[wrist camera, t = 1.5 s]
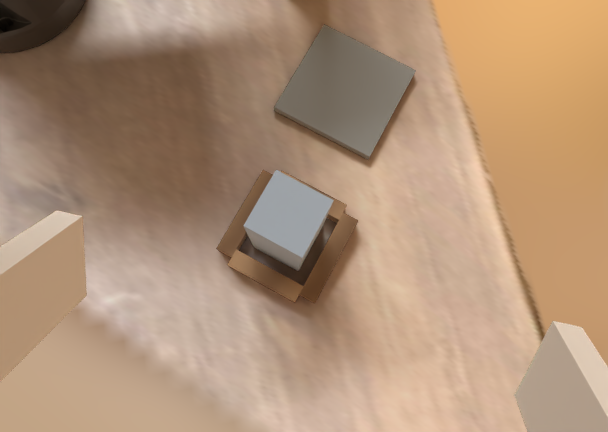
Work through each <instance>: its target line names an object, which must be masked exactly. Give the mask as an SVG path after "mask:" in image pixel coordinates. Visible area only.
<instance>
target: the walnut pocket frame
mask: <svg viewBox="0 0 608 432" xmlns="http://www.w3.org/2000/svg"><path fill="white" fill-rule="evenodd" d="M281 172H282V173H284V174H285V175H287V176H289V177H291V178H293V179H295V180H297V181H299V182H301V183H302V184H304V185H306V186H308V187H310V188H312V189H314V190H316V191H317V192H319V193H321V194H323V195H325V196H327V197H329V198H331V199H333V200H334V201H333V203H332V206H331V208H330V210H329V213H328V215H327V218H328V219H330V220H332V221H334V222H336V223H337V225H336V226H335V228H334V230H333V232H332V234H331V236H330V238H329V240H328V241H327V243H326V245H325V247H324V249H323V251H322V253H321V254H320V256H319V258H318V260H317V262H316V264H315V266H314V268H313V269H312V271H311V273H310V275H309V277H308V279H307V281H306V283H305V284H304V286H302V285H300V284H299V283H297V282H295V281H293V280H291V279H289V278H288V277H286V276H284V275H282V274H280V273H279V272H277V271H275V270H273V269H271V268H269V267H268V266H266V265H264V264H262V263H260V262H258V261H257V260H255V259H253V258H251V257H249V256H248V255H246V254H244V253H242V252H240V251H239V249H240V248H241V246H242V244H243V242H244V241H245V239H246V237H247V235H248V234H247V232H246V230H245V228H244V224H245V222H246V220H247V219H248V217H249V215H250V214H251V212H252V210H253V208H254V207H255V205H256V203H257V202H258V200H259V198H260V196H261V195H262V193H263V191H264V190H265V188H266V186H267V184H268V183H269V181H270V179H271V178H272V176H273V175H272V174H270V173H268V172H266V171H264V170H263V171H262V172H261V174H260V176H259V177H258V179H257V181H256V182H255V184H254V186H253V188H252V189H251V191H250V193H249V194H248V196H247V198H246V199H245V201H244V203H243V204H242V206H241V208H240V210H239V211H238V213H237V215H236V216H235V218H234V220H233V221H232V223H231V225H230V226H229V228H228V230H227V232H226V233H225V235H224V237H223V238H222V240H221V242H220V243H219V245H218V247H217V248H216V249H217V250H218V251H220V252H222V253H223V254H225V255H227V256H229V257H231V259H230V261H229V263H228V264H227V265H228V266H229V267H231V268H233V269H235V270H236V271H238V272H240V273H242V274H244V275H245V276H247V277H249V278H251V279H253V280H254V281H256V282H258V283H260V284H262V285H264V286H265V287H267V288H269V289H271V290H273V291H274V292H276V293H278V294H280V295H282V296H283V297H285V298H287V299H289V300H291V301H293V302H294V303H295V301H296V300H297V298H298V296H299V295H300V296H302V297H303V298H305V299H307V300H309V301H311V302H313V303H315V302H316V300H317V298H318V297H319V295H320V293H321V291H322V289H323V287H324V285H325V283H326V281H327V279H328V277H329V276H330V274H331V272H332V270H333V268H334V266H335V264H336V262H337V260H338V258H339V257H340V255H341V253H342V251H343V249H344V247H345V245H346V243H347V241H348V239H349V237H350V236H351V234H352V232H353V230H354V228H355V226H356V224H357V222H358V220H356V219H355V218H353V217H351V216H349V215H347V214H345V213H343V212H344V210H345V208H346V206H347V205H346V204H344V203H342V202H340V201H338V200H336V199H335V198H333V197H331V196H329V195H327V194H325V193H323V192H321V191H319V190H318V189H316V188H314V187H312V186H310V185H308V184H306V183H304V182H303V181H301V180H299V179H297V178H295V177H293V176H291V175H289V174H287V173H286V172H284V171H281Z"/></svg>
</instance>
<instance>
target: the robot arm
mask: <svg viewBox="0 0 608 432" xmlns="http://www.w3.org/2000/svg"><path fill="white" fill-rule="evenodd" d="M84 2H85V0H0V53H6V52H16V51H22V50H26V49H29V48H33V47H35V46H38V45H40V44H43V43H45V42H47V41H49V40H50V39H52V38H54V37H55V36H57V35H58V34H59V33H61V32H62V31H63V30H64V29H65V28H66V27H68V26H69V25H70V23H71V22H72V21H73V20H74V19H75V18H76V16H77V15H78V13H79V12H80V10H81V8H82V6H83V4H84ZM86 296H87V293H86V274H85V254H84V234H83V216H80V215H76V214H71V213H67V212H62V211H58V210H56V211H55V212H53V213H52V214H50V215H49V216H47V217H46V218H44V219H42V220H41V221H39V222H38V223H36V224H35V225H33V226H31V227H30V228H28V229H27V230H25V231H24V232H22V233H21V234H19V235H17V236H16V237H14V238H13V239H11V240H10V241H8V242H6V243H5V244H3V245H2V246H0V382H1V381H2V380H3V379H4V378H5V377H6V376H7V375H8V374H9V373H10V372H11V371H12V370H13V369H14V368H15V367H16V366H17V365H18V364H19V363H20V362H21V361H22V360H23V359H24V358H25V357H26V356H27V354H29V353H30V352H31V351H32V350H33V349H34V348H35V347H36V346H37V345H38V344H39V343H40V342H41V341H42V340H43V339H44V338H45V337H46V336H47V334H49V333H50V332H51V331H52V330H53V329H54V328H55V327H56V326H57V325H58V324H59V323H60V322H61V321H62V320H63V319H64V317H66V316H67V315H68V314H69V313H70V312H71V311H72V310H73V309H74V308H75V307H76V306H77V305H78V304H79V303H80V302H81V301H82V300H83V299H84V298H85V297H86ZM514 396H515V398H516V401H517V404H518V407H519V409H520V412H521V415H522V418H523V421H524V423H525V426H526V429H527V432H608V367H607V365H606V364H605V362H604V361H603V359H602V358H601V356H600V354H599V353H598V351H597V350H596V348H595V347H594V345H593V344H592V342H591V341H590V339H589V338H588V336H587V334H586V333H585V331H584V330H583V328H582V327H578V326H574V325H569V324H565V323H560V322H556V321H552V323H551V325H550V327H549V329H548V331H547V333H546V335H545V337H544V339H543V340H542V342H541V344H540V346H539V348H538V350H537V352H536V354H535V356H534V358H533V360H532V362H531V364H530V365H529V367H528V369H527V371H526V373H525V375H524V377H523V379H522V381H521V383H520V385H519V387H518V389H517V391H516V392H515V394H514Z"/></svg>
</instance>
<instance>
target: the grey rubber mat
mask: <svg viewBox="0 0 608 432" xmlns="http://www.w3.org/2000/svg"><path fill="white" fill-rule="evenodd" d="M415 71H416V70H414V69H412V68H410V67H408V66H406V65H404V64H402V63H400V62H398V61H396V60H394V59H392V58H390V57H388V56H386V55H384V54H382V53H380V52H378V51H376V50H374V49H372V48H370V47H368V46H366V45H364V44H362V43H360V42H358V41H357V40H355V39H353V38H351V37H349V36H347V35H345V34H343V33H341V32H339V31H337V30H335V29H333V28H331V27H329V26H327V25H325V24H324V25H323V27H322V29H321V30H320V32H319V34H318V35H317V37H316V39H315V40H314V42H313V44H312V45H311V47H310V48H309V50H308V52H307V53H306V55H305V57H304V58H303V60H302V62H301V63H300V65H299V67H298V68H297V70H296V72H295V73H294V75H293V77H292V78H291V80H290V81H289V83H288V85H287V86H286V88H285V90H284V91H283V93H282V95H281V96H280V98H279V100H278V101H277V103H276V105H275V106H274V111H276V112H278V113H280V114H281V115H283V116H285V117H287V118H289V119H291V120H293V121H295V122H297V123H299V124H301V125H303V126H304V127H306V128H308V129H310V130H312V131H314V132H316V133H318V134H320V135H322V136H324V137H326V138H327V139H329V140H331V141H333V142H335V143H337V144H339V145H341V146H343V147H345V148H347V149H349V150H351V151H352V152H354V153H356V154H358V155H360V156H362V157H364V158H366V159H369V157H370V155H371V153H372V152H373V150H374V148H375V146H376V144H377V142H378V140H379V139H380V137H381V135H382V133H383V131H384V129H385V127H386V126H387V124H388V122H389V120H390V118H391V116H392V114H393V112H394V111H395V109H396V107H397V105H398V103H399V101H400V99H401V98H402V96H403V94H404V92H405V90H406V88H407V86H408V85H409V83H410V81H411V79H412V77H413V75H414V73H415Z"/></svg>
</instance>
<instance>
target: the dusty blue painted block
mask: <svg viewBox="0 0 608 432" xmlns="http://www.w3.org/2000/svg"><path fill="white" fill-rule="evenodd" d="M333 201H334V200H333V199H331V198H329V197H327V196H325V195H323V194H321V193H319V192H317V191H316V190H314V189H312V188H310V187H308V186H306V185H304V184H302V183H301V182H299V181H297V180H295V179H293V178H291V177H289V176H287V175H285V174H284V173H282V172H280V171H278V170H276V171H275V172H274V174H273V176H272V178H271V179H270V181H269V183H268V184H267V186H266V188H265V190H264V191H263V193H262V195H261V196H260V198H259V200H258V202H257V203H256V205H255V207H254V208H253V210H252V212H251V214H250V215H249V217H248V219H247V220H246V222H245V224H244V228H245V230H246V232H247V234H248V236H249V239H250V241H251V243H252V245H253V247H254V248H256V249H258V250H260V251H261V252H263V253H265V254H267V255H269V256H271V257H272V258H274V259H276V260H278V261H280V262H281V263H283V264H285V265H287V266H289V267H291V268H292V269H294V270H296V271H299V270H300V268H301V266H302V264H303V262H304V260H305V258H306V257H307V255H308V253H309V251H310V249H311V247H312V246H313V244H314V242H315V240H316V238H317V236H318V234H319V233H320V231H321V229H322V227H323V225H324V222H325V220H326V218H327V215H328V213H329V210H330V208H331V206H332V203H333Z"/></svg>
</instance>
